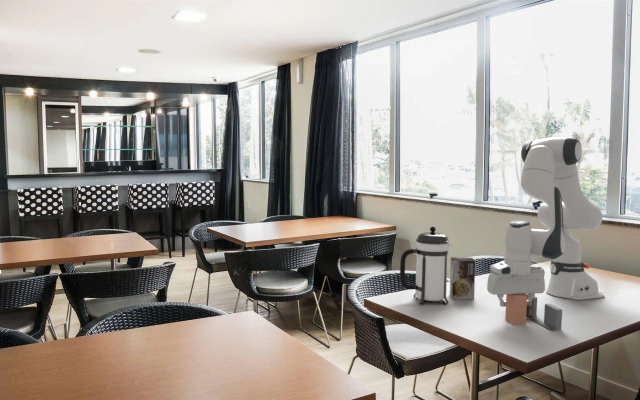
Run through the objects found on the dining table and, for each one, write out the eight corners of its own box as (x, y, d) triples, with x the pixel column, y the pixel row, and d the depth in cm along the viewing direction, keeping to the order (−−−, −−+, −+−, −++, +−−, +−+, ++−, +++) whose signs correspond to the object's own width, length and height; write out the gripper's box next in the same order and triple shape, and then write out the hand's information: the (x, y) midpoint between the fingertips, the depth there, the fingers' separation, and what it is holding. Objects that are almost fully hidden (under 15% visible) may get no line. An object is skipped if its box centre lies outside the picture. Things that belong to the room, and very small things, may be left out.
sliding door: (520, 308, 197) (520, 289, 197) (533, 315, 189) (534, 296, 188) (498, 309, 196) (499, 290, 196) (510, 316, 187) (511, 297, 187)
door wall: (526, 310, 198) (527, 292, 197) (561, 330, 176) (562, 309, 175) (516, 310, 197) (516, 292, 196) (549, 330, 175) (550, 310, 175)
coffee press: (423, 293, 220) (425, 222, 218) (456, 301, 209) (459, 226, 206) (398, 301, 208) (400, 226, 205) (432, 310, 197) (435, 231, 194)
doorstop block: (517, 318, 188) (518, 291, 187) (525, 324, 182) (527, 296, 181) (505, 319, 187) (506, 291, 186) (513, 324, 181) (514, 296, 180)
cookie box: (471, 295, 218) (472, 257, 216) (474, 300, 211) (476, 260, 210) (449, 294, 219) (450, 256, 217) (451, 299, 212) (452, 259, 211)
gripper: (539, 264, 188) (537, 302, 189) (485, 265, 185) (484, 304, 186) (549, 268, 181) (547, 307, 183) (494, 269, 178) (492, 309, 180)
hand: (515, 305), depth 184 cm, fingers open, 8 cm apart
